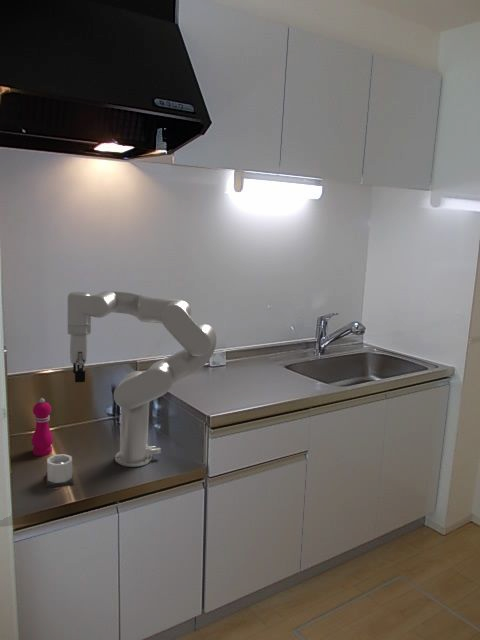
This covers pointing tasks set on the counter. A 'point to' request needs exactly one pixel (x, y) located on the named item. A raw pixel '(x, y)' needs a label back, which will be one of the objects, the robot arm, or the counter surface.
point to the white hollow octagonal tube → (59, 468)
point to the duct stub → (69, 482)
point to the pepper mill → (42, 429)
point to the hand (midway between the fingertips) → (79, 377)
